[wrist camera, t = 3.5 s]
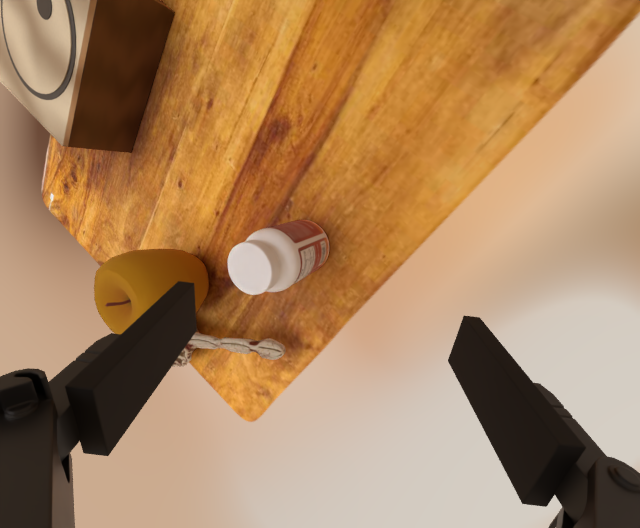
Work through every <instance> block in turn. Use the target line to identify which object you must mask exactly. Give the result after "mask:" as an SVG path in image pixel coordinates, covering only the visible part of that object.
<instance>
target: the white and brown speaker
mask: <svg viewBox="0 0 640 528" xmlns="http://www.w3.org/2000/svg"><path fill="white" fill-rule="evenodd" d="M174 13H175V12H174V11H173V10H171V9H170V8H169V7H168V6H167V5H165V4H164V3H163V2H162V1H160V0H0V82H1V83H2V84H3V85H4V86H5V87H6V88H7V89H8V90H9V91H10V92H11V93H12V94H13V95H14V96H15V97H16V98H17V99H18V100H19V101H20V102H21V103H22V105H23V106H24V107H25V108H26V109H27V110H28V111H29V112H30V113H31V114H32V115H33V116H34V117H35V118H36V119H37V120H38V121H39V122H40V123H41V124H42V125H43V126H44V127H45V128H46V130H47V131H48V132H49V133H50V134H51V135H52V136H53V137H54V138H55V139H56V140H57V141H58V142H59V143H60V144H61V145H62V146H65V147H76V148H86V149H97V150H108V151H118V152H129V153H131V152H132V149H133V145H134V142H135V139H136V136H137V132H138V129H139V126H140V123H141V120H142V116H143V113H144V110H145V107H146V103H147V100H148V97H149V94H150V90H151V87H152V84H153V81H154V78H155V74H156V71H157V68H158V65H159V61H160V58H161V55H162V52H163V48H164V45H165V42H166V39H167V35H168V32H169V29H170V26H171V23H172V19H173V16H174Z"/></svg>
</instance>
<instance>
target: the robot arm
mask: <svg viewBox="0 0 640 528" xmlns="http://www.w3.org/2000/svg"><path fill="white" fill-rule="evenodd" d="M196 331H197V325H196V306H195V287H194V283H190V282H182V281H178V282H177V283H176V284H175V285H174V286H173V287H171V288H170V289H169V290H168V291H167V292H166V293H165V294H164V295H163V296H162V297H161V298H160V299H159V300H157V301H156V302H155V303H154V304H153V305H152V306H151V307H150V308H149V309H148V310H147V311H146V312H144V313H143V314H142V315H141V316H140V317H139V318H138V319H137V320H136V321H135V322H134V323H133V324H131V325H130V326H129V327H128V328H127V329H126V330H125V331H124V332H123V333H122V334H112V333H111V334H109V335H108V336H106V337H103V338H101V339H100V340H98V341H96V342H95V343H94V344H93V345H91V346H90V347H89V348H88V349H87V350H86V351H85V353H82V354H81V355H80V356H79V357H78V358H76V360H75V361H73V362H72V363H70V364H69V365H68V366H67V367H66V368H65V369H63V370H62V371H61V372H60V373H59V374H58V375H56V376H55V377H54V378H53V379H52V380H51V381H49V382H48V380H47V377H46V374H45V372H44V371H41V370H39V369H23V370H18V371H14V372H11V373H8V374H6V375H3V376H1V377H0V528H75V522H74V498H73V476H72V475H73V474H72V458H71V454H70V452H71V450H72V449H73V448H74V447H75V446H76V445H77V443H78V442H79V441H80V442H81V446H82V449H83V452H84V453H87V454H96V455H104V456H108V455H109V454H110V453H111V451H112V450H113V448H114V447H115V446H116V444H117V443H118V441H119V440H120V438H121V437H122V436H123V434H124V433H125V431H126V430H127V429H128V427H129V426H130V424H131V423H132V422H133V420H134V419H135V417H136V416H137V414H138V413H139V412H140V410H141V409H142V407H143V406H144V404H145V403H146V402H147V400H148V399H149V397H150V396H151V395H152V393H153V392H154V390H155V389H156V388H157V386H158V385H159V383H160V382H161V380H162V379H163V377H164V376H165V375H166V373H167V372H168V371H169V369H170V368H171V366H172V365H173V364H174V362H175V361H176V359H177V358H178V356H179V355H180V354H181V352H182V351H183V349H184V348H185V347H186V345H187V344H188V342H189V341H190V339H191V338H192V337H193V335H194V334H195V332H196ZM448 362H449V364H450V365H451V367H452V369H453V371H454V373H455V375H456V377H457V379H458V381H459V382H460V385H461V386H462V388H463V390H464V392H465V394H466V396H467V398H468V400H469V402H470V404H471V406H472V408H473V410H474V412H475V413H476V415H477V417H478V419H479V421H480V423H481V425H482V427H483V429H484V431H485V433H486V435H487V436H488V438H489V440H490V442H491V444H492V446H493V448H494V450H495V452H496V454H497V456H498V457H499V460H500V461H501V463H502V465H503V467H504V469H505V471H506V473H507V475H508V477H509V479H510V480H511V483H512V484H513V486H514V488H515V490H516V492H517V494H518V496H519V498H520V500H521V502H522V504H528V505H537V506H547V505H548V503H549V502H550V501H551V499H552V498H553V496H554V495H556V497H557V499H558V500H559V502H560V503H561V505H562V509H561V510H560V511H559V513H558V514H557V516H556V517H555V519H554V520H553V521H552V523H551V524H550V526H549V528H555V527H556V528H640V473H638V472H637V471H636V470H635V469H633V468H632V467H630V466H629V465H627V464H625V463H624V462H622V461H619V460H617V459H615V458H612V457H607V456H606V455H605V454H604V453H603V452H602V450H601V449H600V448H599V447H598V446H597V444H596V443H595V442H594V441H593V440H592V439H591V437H590V436H589V435H588V434H587V433H586V432H585V431H584V429H583V428H582V427H581V426H580V425H579V424H578V422H577V421H576V420H575V419H573V418H572V415H571V414H570V413H569V412H568V411H567V410H566V409H564V406H563V405H562V404H561V403H560V402H559V400H558V399H557V398H556V397H555V396H554V395H553V394H552V393H551V392H550V391H548V390H547V389H546V388H544V387H543V386H542V385H541V384H538V383H533V382H532V381H531V380H530V378H529V377H528V376H527V375H526V374H525V372H524V371H523V370H522V369H521V367H520V366H519V365H518V364H517V363H516V361H515V360H514V359H513V358H512V356H511V355H510V354H509V353H508V352H507V350H506V349H505V348H504V347H503V346H502V344H501V343H500V342H499V341H498V339H497V338H496V337H495V336H494V335H493V333H492V332H491V331H490V330H489V328H488V327H487V326H486V325H485V324H484V322H483V321H482V320H481V319H480V318H478V317H470V316H464V317H463V320H462V323H461V326H460V329H459V331H458V334H457V337H456V340H455V342H454V345H453V348H452V351H451V354H450V357H449V359H448Z"/></svg>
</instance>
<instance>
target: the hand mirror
mask: <svg viewBox="0 0 640 528" xmlns="http://www.w3.org/2000/svg"><path fill="white" fill-rule="evenodd" d="M196 348H208V349H217V348H225V349H227V350H229V351H232V352H237V353H243V354H249V353H251V352H257V353H258V354H259V355H260V356H261V357H262V358H266V359H270V360H275V359H278V358H280V357H282V356H283V355H284V354H285V351H286V349H285V346H284V345H283V344H282V343H280V342H278V341H276V340H274V339H270V338H267V339H264V340H260V341H255V340H252V339H244V338H226V337H224V338H222V339H220V338H217V337H215V336H212V335H205V334H201V333H199V331H198V329H197V331H196V332H195V334H194V335H193V337H192V338H191V339H190V341H189V342H188V344H187V345H186V347H185V348H184V349H183V351H182V352H181V354H180V355H179V356H178V358H177V359H176V361H175V362H174V364H173V365H172V366H179V367H181V366H185V365H186V364H187V363H188V362H190V360H191V357H192V352H193V351H194V350H195V349H196Z"/></svg>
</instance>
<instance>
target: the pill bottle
mask: <svg viewBox="0 0 640 528" xmlns="http://www.w3.org/2000/svg"><path fill="white" fill-rule="evenodd" d="M328 255H329V241H328V238H327V235H326V234H325V232H324V230H323V229H322V228H321V227H320V226H319V225H317V224H316V223H314V222H312V221H309V220H296V221H292V222H288V223H284V224H280V225H276V226H272V227H268V228H264V229H261V230H258V231H256V232H254V233H252V234H251V235H250V236H249V237H248V238H247V240H246V241H245V242H242V243H239V244H237V245H236V246H235V247H233V249H232V250H231V252H230V253H229V256H228V271H229V275H230V277H231V279H232V281H233V283H234V284H235V285H236V286H237V287H238V288H239V289H240V290H241V291H243V292H245V293H247V294H251V295H258V294H261V293H263V292H265V291H268V292H279V291H282V290H285V289H286V288H288V287H290V286H291V285H293V284H295V283H296V282H298V281H299V280H301V279H303V278H304V277H306V276H308V275H309V274H311V273H312V272H314V271H316V270H317V269H319V268H320V267H321V266H322V265H323V264H324V263H325V262H326V260H327V258H328Z"/></svg>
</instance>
